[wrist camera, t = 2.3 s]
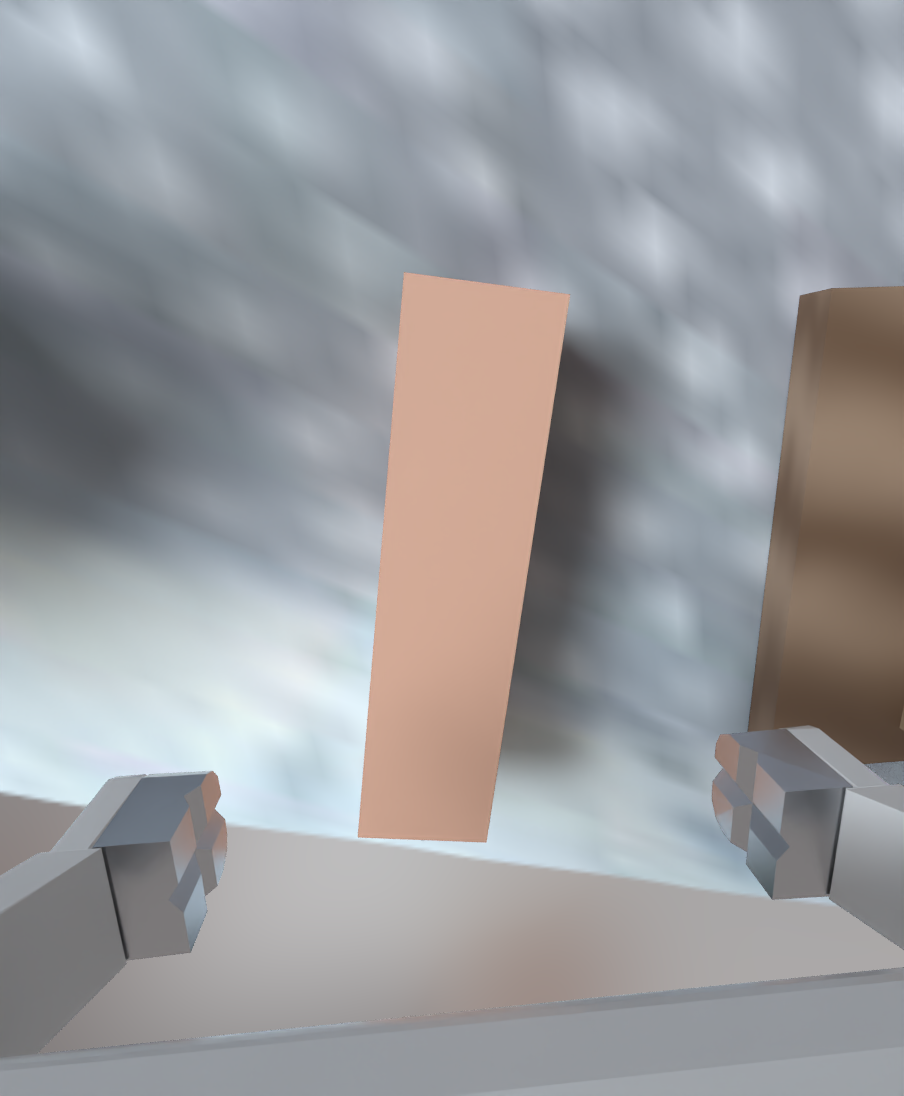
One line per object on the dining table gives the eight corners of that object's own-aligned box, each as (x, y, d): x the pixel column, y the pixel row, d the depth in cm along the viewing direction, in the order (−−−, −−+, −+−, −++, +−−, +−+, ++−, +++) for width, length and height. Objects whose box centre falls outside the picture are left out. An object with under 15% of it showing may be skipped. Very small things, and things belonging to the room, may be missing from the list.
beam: (405, 301, 18) (404, 272, 14) (529, 316, 19) (570, 294, 14) (369, 741, 23) (357, 837, 18) (470, 746, 23) (486, 842, 18)
